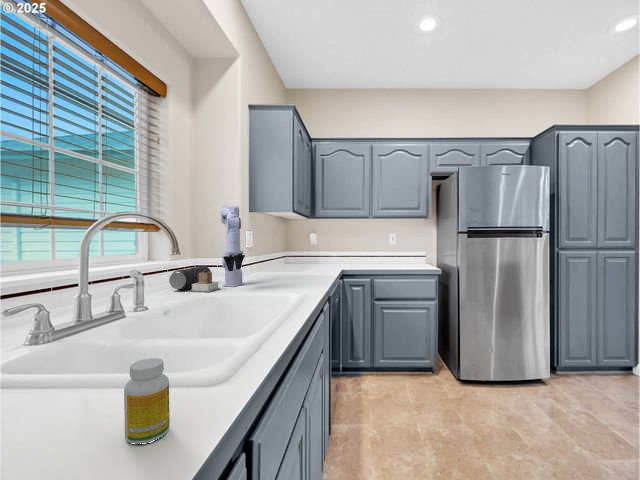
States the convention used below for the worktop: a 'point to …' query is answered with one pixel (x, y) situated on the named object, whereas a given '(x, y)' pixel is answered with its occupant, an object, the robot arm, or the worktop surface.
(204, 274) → the walnut plug
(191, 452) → the worktop surface
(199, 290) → the socket block
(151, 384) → the supplement bottle
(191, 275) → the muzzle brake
